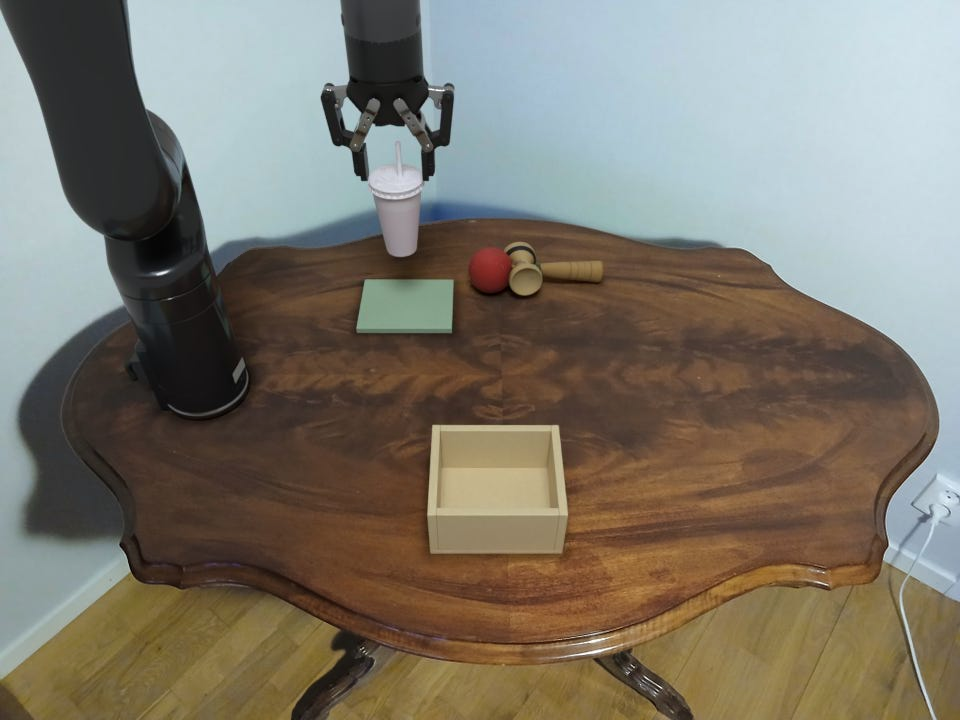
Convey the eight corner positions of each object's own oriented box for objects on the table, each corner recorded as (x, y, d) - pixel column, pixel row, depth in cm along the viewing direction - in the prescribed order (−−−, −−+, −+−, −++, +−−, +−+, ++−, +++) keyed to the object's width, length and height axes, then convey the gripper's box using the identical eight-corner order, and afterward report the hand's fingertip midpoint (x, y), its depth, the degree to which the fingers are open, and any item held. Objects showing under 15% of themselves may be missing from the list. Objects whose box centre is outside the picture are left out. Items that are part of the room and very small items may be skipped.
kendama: (586, 267, 104) (462, 262, 100) (600, 235, 99) (469, 229, 95) (597, 309, 100) (468, 305, 96) (612, 278, 94) (475, 273, 91)
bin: (430, 553, 69) (427, 515, 65) (434, 464, 77) (432, 424, 72) (562, 553, 70) (568, 515, 65) (553, 464, 77) (558, 424, 73)
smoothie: (420, 266, 86) (413, 159, 76) (368, 259, 87) (354, 152, 77) (433, 236, 90) (428, 130, 81) (384, 230, 91) (373, 125, 82)
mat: (356, 333, 92) (356, 328, 91) (365, 283, 99) (364, 279, 98) (451, 333, 92) (451, 328, 91) (453, 284, 99) (453, 279, 98)
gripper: (457, 10, 73) (460, 161, 85) (314, 9, 73) (336, 161, 85) (455, 38, 68) (458, 195, 79) (300, 38, 68) (326, 195, 79)
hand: (395, 177), depth 82 cm, fingers closed on smoothie, 6 cm apart
